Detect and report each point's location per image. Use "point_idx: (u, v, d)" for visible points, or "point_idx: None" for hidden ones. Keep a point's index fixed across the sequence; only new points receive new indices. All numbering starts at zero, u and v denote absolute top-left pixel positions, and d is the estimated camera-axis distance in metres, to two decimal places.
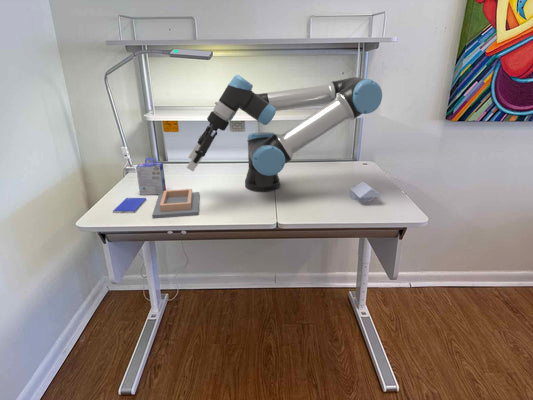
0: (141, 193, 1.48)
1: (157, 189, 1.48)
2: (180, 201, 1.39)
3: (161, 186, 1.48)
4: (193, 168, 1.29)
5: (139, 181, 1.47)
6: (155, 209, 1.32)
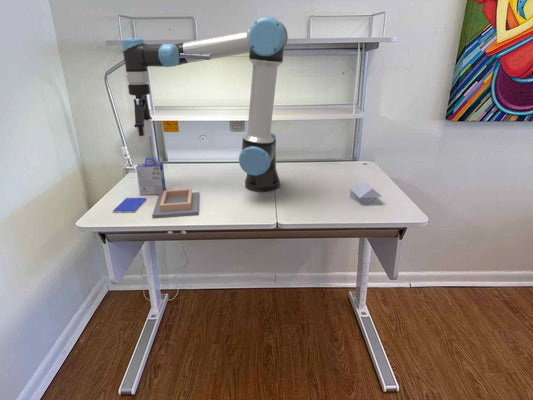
0: (141, 193, 1.48)
1: (157, 189, 1.48)
2: (180, 201, 1.39)
3: (161, 186, 1.48)
4: (145, 141, 1.36)
5: (139, 181, 1.47)
6: (155, 209, 1.32)
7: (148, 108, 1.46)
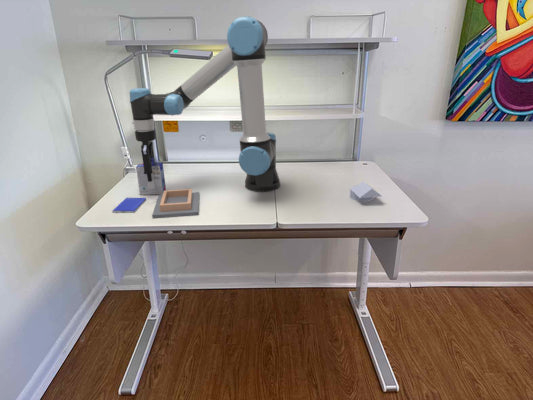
0: (141, 193, 1.48)
1: (157, 189, 1.48)
2: (180, 201, 1.39)
3: (161, 186, 1.48)
4: (153, 186, 1.47)
5: (139, 181, 1.46)
6: (155, 209, 1.32)
7: (153, 155, 1.52)
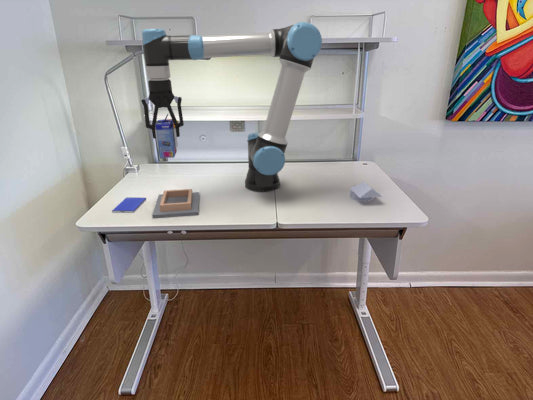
0: None
1: None
2: (180, 201, 1.39)
3: None
4: (157, 144, 1.30)
5: None
6: (155, 209, 1.32)
7: (181, 114, 1.27)
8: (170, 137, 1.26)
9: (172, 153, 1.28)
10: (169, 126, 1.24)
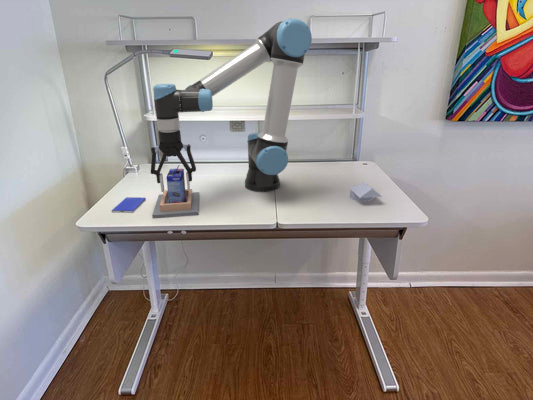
0: None
1: None
2: None
3: (168, 198, 1.32)
4: (161, 189, 1.34)
5: None
6: (155, 209, 1.32)
7: (192, 161, 1.31)
8: (180, 188, 1.31)
9: None
10: (179, 178, 1.30)
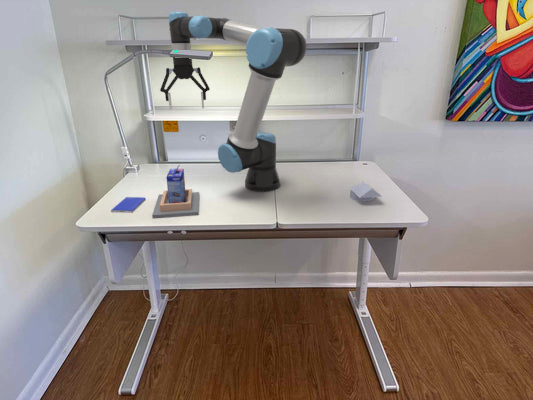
0: None
1: None
2: None
3: (168, 198, 1.32)
4: (169, 106, 1.53)
5: None
6: (155, 209, 1.32)
7: (204, 81, 1.51)
8: (180, 188, 1.31)
9: None
10: (179, 178, 1.30)
